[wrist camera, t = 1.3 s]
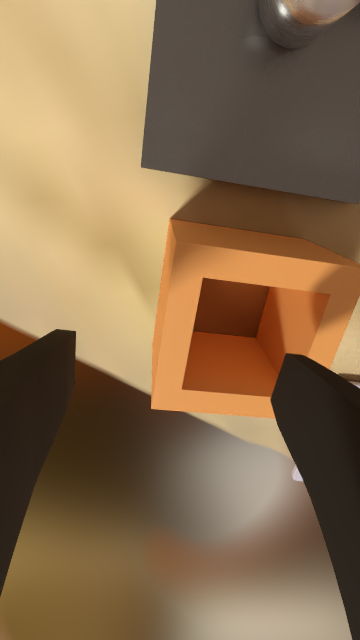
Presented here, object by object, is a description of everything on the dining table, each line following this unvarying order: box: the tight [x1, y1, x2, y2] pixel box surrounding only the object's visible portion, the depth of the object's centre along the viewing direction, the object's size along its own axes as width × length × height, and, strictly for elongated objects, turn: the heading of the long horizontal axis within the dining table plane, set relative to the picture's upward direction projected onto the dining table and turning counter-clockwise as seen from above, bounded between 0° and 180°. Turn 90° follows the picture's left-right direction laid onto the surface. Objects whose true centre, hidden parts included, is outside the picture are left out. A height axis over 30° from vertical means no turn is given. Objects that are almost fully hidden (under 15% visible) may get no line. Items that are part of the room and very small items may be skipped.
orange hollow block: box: [151, 219, 360, 418], centre depth 16 cm, size 8×8×6 cm
